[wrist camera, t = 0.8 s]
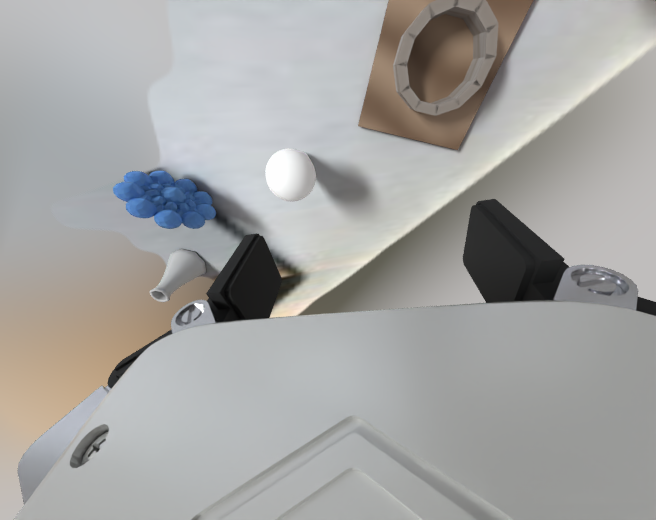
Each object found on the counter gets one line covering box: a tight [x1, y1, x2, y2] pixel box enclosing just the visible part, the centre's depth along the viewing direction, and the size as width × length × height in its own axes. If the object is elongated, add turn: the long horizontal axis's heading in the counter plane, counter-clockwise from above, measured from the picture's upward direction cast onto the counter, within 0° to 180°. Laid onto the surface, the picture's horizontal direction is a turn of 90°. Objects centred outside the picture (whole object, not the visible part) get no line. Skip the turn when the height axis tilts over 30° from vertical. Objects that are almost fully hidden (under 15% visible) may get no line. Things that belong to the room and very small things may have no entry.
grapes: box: [113, 171, 216, 229], centre depth 35 cm, size 12×7×12 cm, turn 50°
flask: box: [150, 249, 206, 302], centre depth 46 cm, size 7×7×10 cm
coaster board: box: [358, 0, 533, 150], centre depth 26 cm, size 16×14×4 cm
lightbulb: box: [266, 149, 316, 201], centre depth 31 cm, size 6×6×11 cm
